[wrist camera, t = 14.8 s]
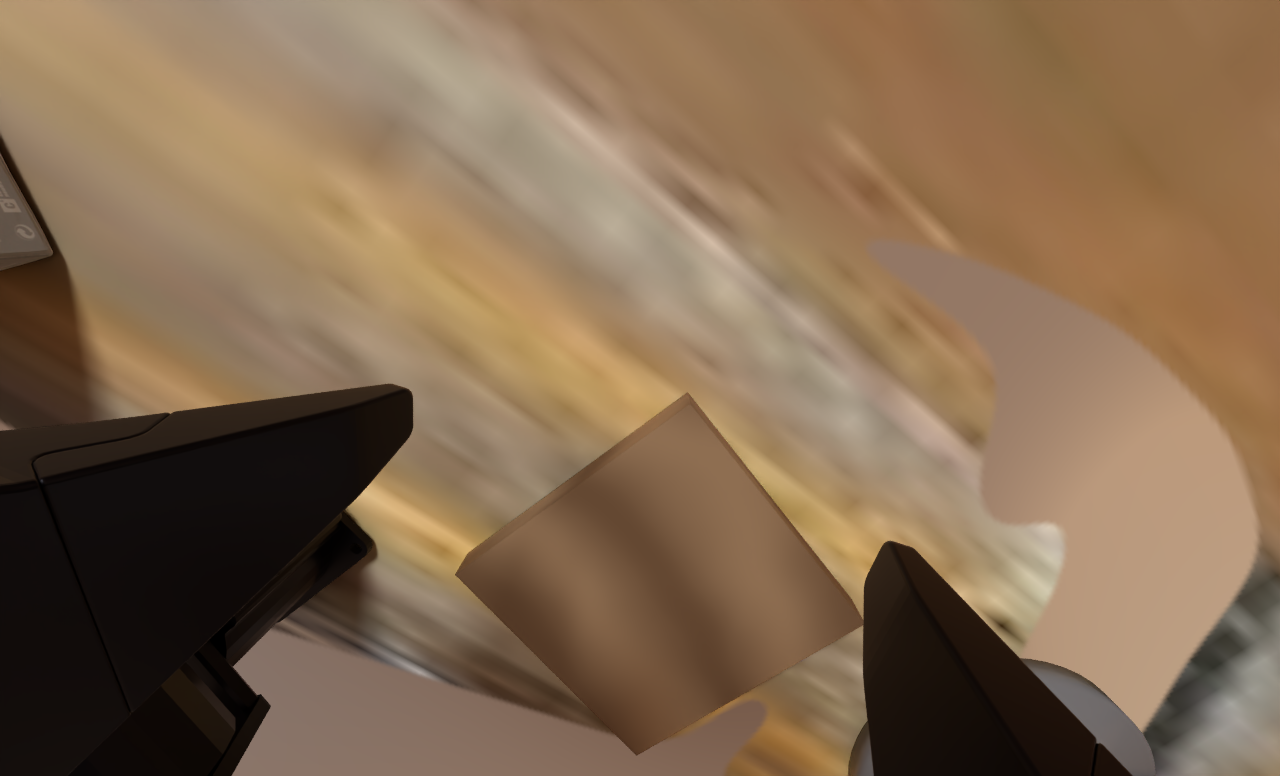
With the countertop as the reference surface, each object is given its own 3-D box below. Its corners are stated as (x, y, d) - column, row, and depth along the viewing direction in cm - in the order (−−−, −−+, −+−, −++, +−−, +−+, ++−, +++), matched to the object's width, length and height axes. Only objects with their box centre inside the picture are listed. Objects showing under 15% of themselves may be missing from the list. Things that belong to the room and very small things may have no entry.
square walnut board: (637, 725, 25) (636, 755, 24) (467, 553, 23) (454, 574, 21) (851, 599, 23) (865, 623, 21) (687, 392, 20) (690, 403, 19)
